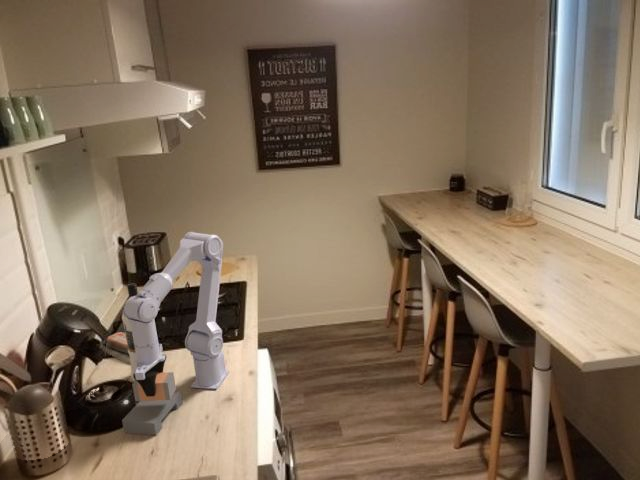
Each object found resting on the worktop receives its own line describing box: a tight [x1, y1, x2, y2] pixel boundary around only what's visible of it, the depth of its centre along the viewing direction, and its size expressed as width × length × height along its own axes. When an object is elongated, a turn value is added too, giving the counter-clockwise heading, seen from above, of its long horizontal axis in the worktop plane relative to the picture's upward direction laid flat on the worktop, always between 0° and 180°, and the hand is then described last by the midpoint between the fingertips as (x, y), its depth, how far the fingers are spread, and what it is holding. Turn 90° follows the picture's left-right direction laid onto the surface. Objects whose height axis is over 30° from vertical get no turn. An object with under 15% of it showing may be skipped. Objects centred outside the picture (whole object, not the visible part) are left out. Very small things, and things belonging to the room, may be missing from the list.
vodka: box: [121, 282, 139, 382], centre depth 153 cm, size 9×9×30 cm
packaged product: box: [106, 331, 131, 365], centre depth 173 cm, size 18×5×10 cm
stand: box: [121, 390, 184, 436], centre depth 137 cm, size 14×9×4 cm, turn 167°
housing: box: [131, 371, 177, 402], centre depth 135 cm, size 9×5×5 cm, turn 89°
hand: (154, 389), depth 135 cm, fingers closed on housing, 5 cm apart
